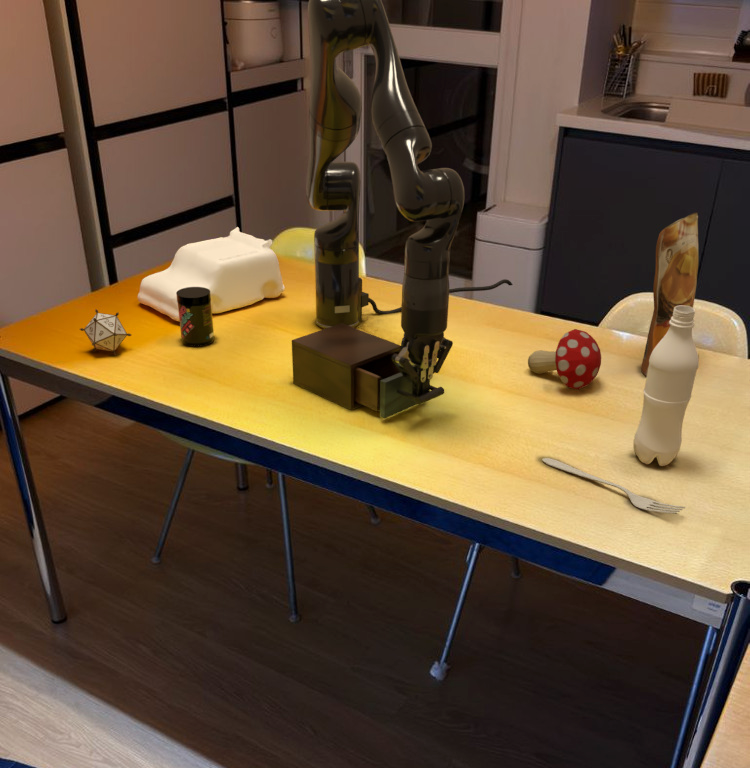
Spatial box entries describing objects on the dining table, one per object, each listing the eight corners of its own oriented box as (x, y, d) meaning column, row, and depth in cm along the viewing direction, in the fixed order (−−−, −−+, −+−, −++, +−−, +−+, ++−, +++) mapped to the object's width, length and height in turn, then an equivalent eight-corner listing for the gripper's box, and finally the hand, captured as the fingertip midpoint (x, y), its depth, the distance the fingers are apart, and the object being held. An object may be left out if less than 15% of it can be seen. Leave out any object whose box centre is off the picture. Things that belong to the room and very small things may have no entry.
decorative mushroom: (517, 325, 167) (584, 318, 156) (551, 344, 175) (617, 338, 163) (507, 381, 166) (573, 378, 155) (541, 398, 173) (607, 396, 162)
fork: (548, 455, 142) (550, 446, 141) (684, 516, 127) (687, 506, 126) (536, 462, 140) (537, 452, 139) (673, 524, 125) (675, 514, 124)
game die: (120, 366, 179) (146, 327, 176) (95, 366, 171) (122, 326, 168) (90, 337, 180) (115, 298, 177) (63, 337, 172) (89, 296, 169)
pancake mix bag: (621, 371, 171) (646, 225, 156) (669, 345, 182) (697, 207, 167) (652, 382, 167) (681, 233, 152) (699, 354, 178) (731, 214, 164)
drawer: (453, 409, 154) (455, 373, 150) (408, 430, 147) (410, 393, 143) (372, 375, 166) (372, 341, 162) (327, 392, 159) (326, 357, 155)
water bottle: (624, 448, 144) (652, 301, 131) (667, 447, 145) (698, 300, 131) (639, 470, 138) (669, 318, 125) (683, 468, 139) (718, 317, 125)
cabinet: (400, 389, 162) (401, 345, 158) (350, 410, 155) (350, 365, 150) (342, 364, 172) (342, 322, 167) (293, 383, 164) (291, 340, 160)
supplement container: (186, 334, 184) (181, 286, 179) (218, 335, 184) (213, 287, 178) (177, 347, 178) (172, 297, 173) (210, 348, 178) (206, 298, 172)
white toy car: (291, 297, 205) (288, 239, 198) (179, 327, 187) (172, 265, 180) (243, 277, 217) (239, 222, 209) (134, 304, 199) (126, 245, 192)
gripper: (414, 316, 134) (410, 418, 144) (469, 297, 142) (462, 394, 152) (379, 304, 139) (377, 403, 148) (435, 286, 147) (430, 381, 156)
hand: (420, 399), depth 150 cm, fingers closed
